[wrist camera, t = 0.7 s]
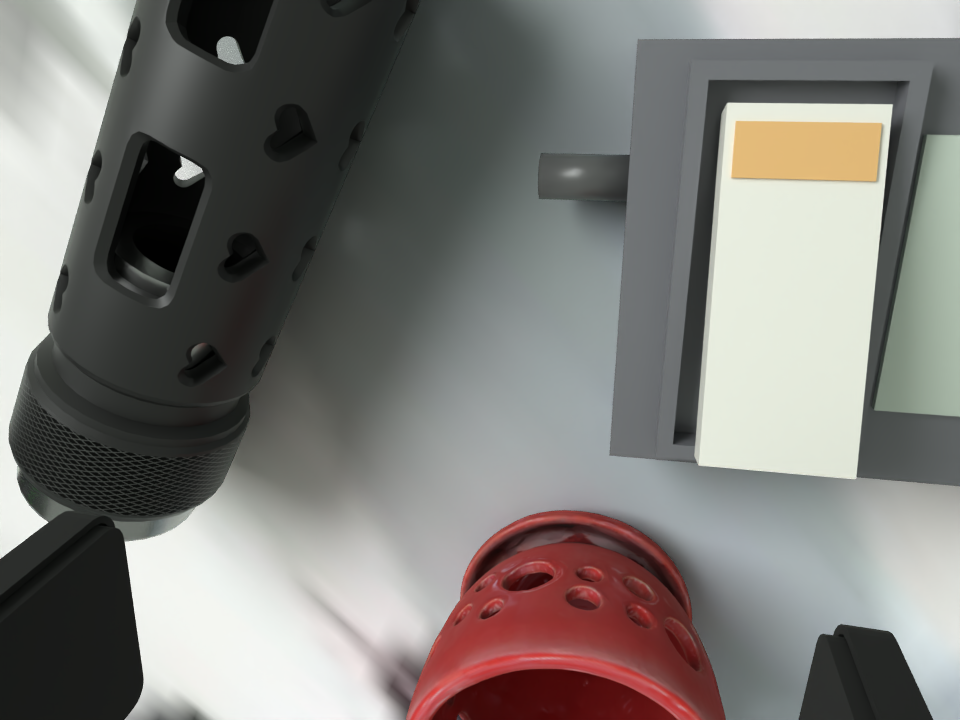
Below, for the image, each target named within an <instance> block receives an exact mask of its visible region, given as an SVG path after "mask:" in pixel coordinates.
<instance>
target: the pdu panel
mask: <svg viewBox="0 0 960 720" xmlns="http://www.w3.org/2000/svg"><path fill="white" fill-rule="evenodd" d="M727 103H807V104H893V107H892V117H891V127H890V137H889V148H888V158H887V168H886V178H885V189H884V199H883V209H882V219H881V230H880V240H879V250H878V260H877V270H876V281H875V291H874V301H873V311H872V322H871V332H870V342H869V352H868V363H867V373H866V383H865V393H864V403H863V414H862V424H861V434H860V444H859V455H858V465H857V475H856V477H861V478H873V479H884V480H895V481H907V482H918V483H929V484H941V485H952V486H960V38H892V39H645V40H638V45H637V60H636V74H635V89H634V104H633V119H632V133H631V148H630V155H602V154H555V153H541V156H540V162H539V173H538V194H539V199H561V200H592V201H624V202H627V207H626V221H625V236H624V251H623V265H622V280H621V295H620V309H619V324H618V339H617V353H616V368H615V383H614V397H613V412H612V427H611V441H610V455H611V456H623V457H634V458H645V459H657V460H668V461H680V462H691V463H697V461H696V459H695V456H694V454H695V441H696V428H697V416H698V403H699V390H700V378H701V365H702V352H703V339H704V327H705V314H706V301H707V289H708V276H709V263H710V250H711V238H712V225H713V212H714V199H715V187H716V174H717V161H718V149H719V136H720V123H721V114H722V112H723V110H724V108H725V106H726V104H727Z"/></svg>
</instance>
